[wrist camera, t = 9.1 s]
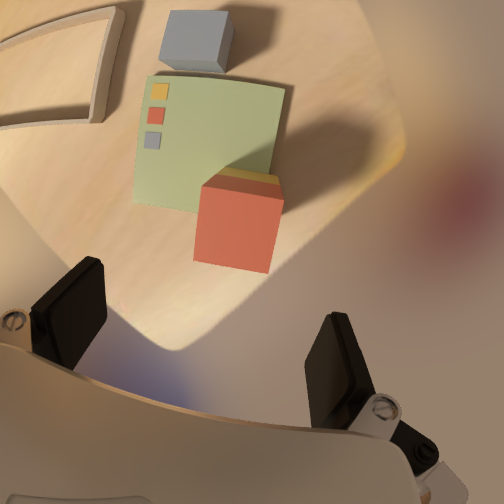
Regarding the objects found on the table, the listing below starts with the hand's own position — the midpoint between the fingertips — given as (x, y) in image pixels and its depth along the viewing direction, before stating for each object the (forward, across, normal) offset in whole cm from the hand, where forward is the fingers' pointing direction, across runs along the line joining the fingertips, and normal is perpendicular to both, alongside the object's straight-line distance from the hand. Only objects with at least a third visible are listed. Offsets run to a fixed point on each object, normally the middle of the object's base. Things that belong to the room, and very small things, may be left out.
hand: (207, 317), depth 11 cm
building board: (+24, +6, -4) cm, 25 cm away
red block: (+17, 0, 0) cm, 17 cm away
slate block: (+24, +8, -16) cm, 30 cm away
